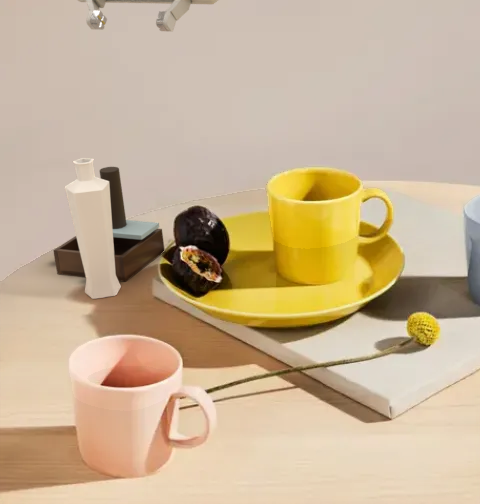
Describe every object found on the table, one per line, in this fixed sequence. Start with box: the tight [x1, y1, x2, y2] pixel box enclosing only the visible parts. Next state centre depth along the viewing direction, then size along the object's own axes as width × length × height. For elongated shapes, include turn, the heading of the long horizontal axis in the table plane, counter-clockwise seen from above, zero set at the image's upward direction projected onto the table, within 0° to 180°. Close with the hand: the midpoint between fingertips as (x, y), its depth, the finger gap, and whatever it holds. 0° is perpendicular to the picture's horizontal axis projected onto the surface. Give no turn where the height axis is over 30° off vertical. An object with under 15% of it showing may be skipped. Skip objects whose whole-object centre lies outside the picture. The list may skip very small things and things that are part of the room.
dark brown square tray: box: [52, 228, 165, 282], centre depth 111 cm, size 9×9×3 cm
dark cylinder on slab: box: [99, 166, 160, 240], centre depth 111 cm, size 9×4×8 cm, turn 73°
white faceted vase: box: [64, 157, 122, 300], centre depth 101 cm, size 5×4×15 cm
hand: (128, 27), depth 113 cm, fingers open, 8 cm apart
